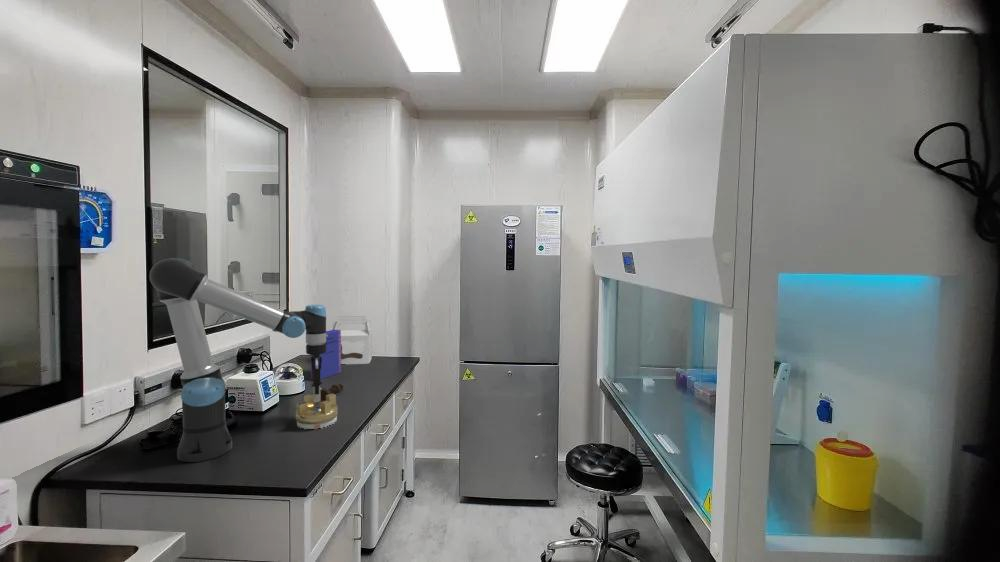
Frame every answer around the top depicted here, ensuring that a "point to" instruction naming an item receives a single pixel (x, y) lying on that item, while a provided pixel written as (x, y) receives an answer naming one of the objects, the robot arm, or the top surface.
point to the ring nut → (316, 410)
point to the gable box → (356, 339)
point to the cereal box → (330, 355)
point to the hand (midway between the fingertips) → (316, 401)
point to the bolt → (331, 391)
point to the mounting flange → (318, 425)
